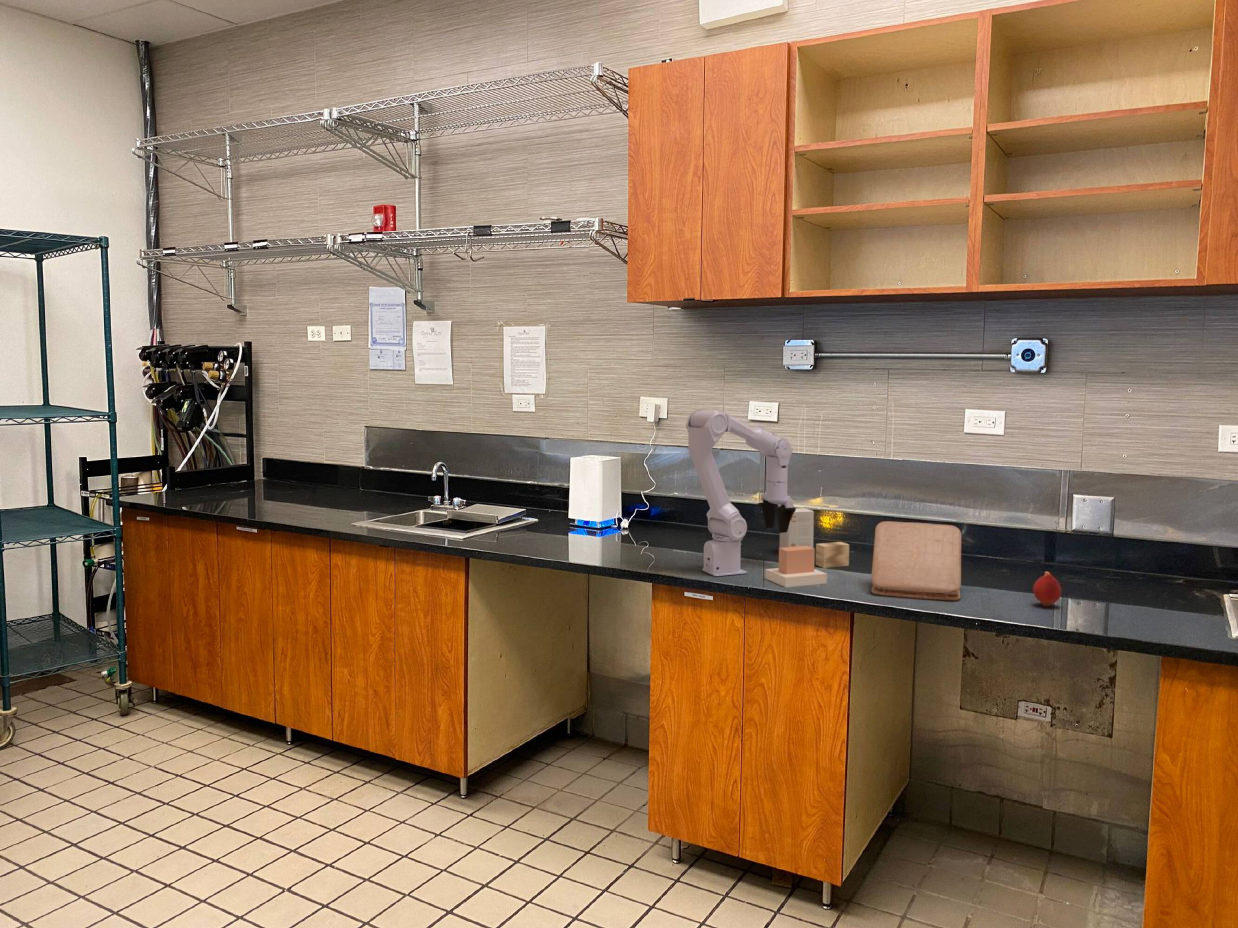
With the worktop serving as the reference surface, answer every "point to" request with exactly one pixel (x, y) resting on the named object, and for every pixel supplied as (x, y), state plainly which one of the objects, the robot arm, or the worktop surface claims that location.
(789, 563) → the terracotta brick
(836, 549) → the light oak brick
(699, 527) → the worktop surface
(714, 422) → the robot arm
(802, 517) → the small box
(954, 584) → the case
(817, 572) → the base block
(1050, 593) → the onion
